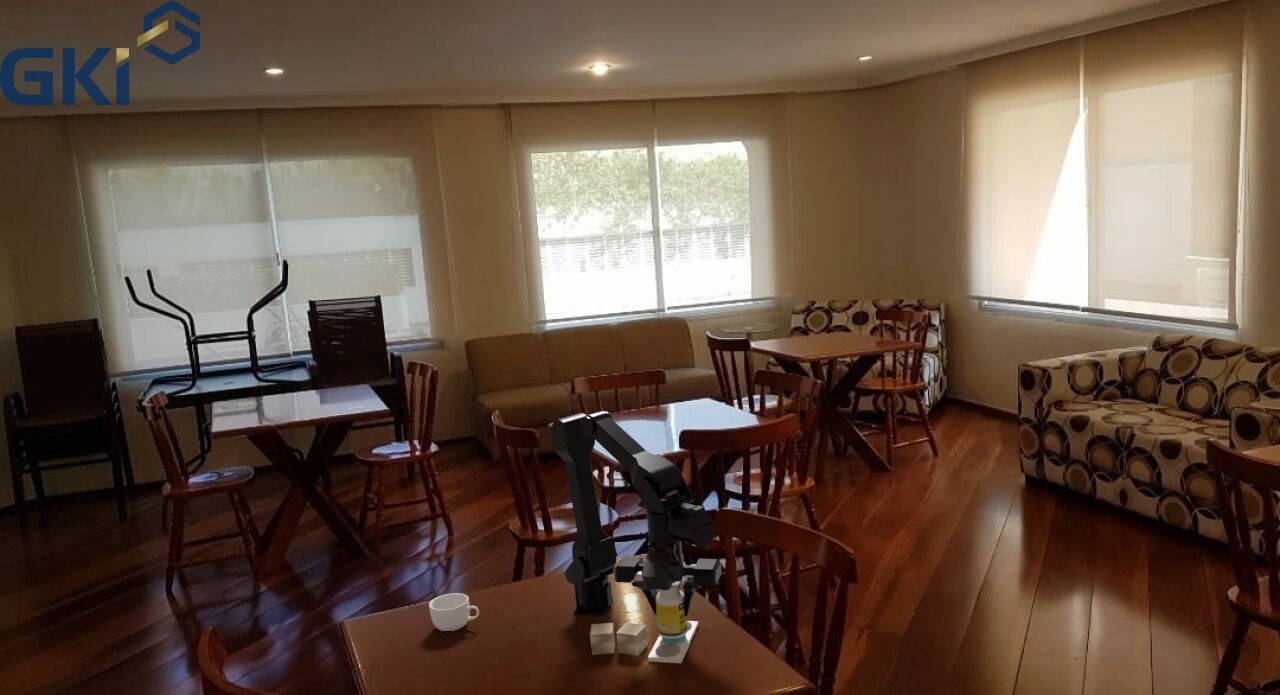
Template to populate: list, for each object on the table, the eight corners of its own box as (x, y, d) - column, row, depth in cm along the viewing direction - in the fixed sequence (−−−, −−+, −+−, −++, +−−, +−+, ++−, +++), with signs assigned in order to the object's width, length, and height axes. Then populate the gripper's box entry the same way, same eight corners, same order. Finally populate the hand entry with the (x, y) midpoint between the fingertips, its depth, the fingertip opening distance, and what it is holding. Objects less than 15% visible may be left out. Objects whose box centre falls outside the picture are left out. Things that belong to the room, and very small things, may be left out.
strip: (648, 661, 160) (647, 656, 159) (668, 623, 173) (667, 618, 173) (681, 663, 158) (680, 658, 158) (698, 625, 171) (698, 620, 171)
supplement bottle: (685, 640, 162) (681, 589, 160) (655, 640, 163) (651, 589, 161) (689, 625, 167) (685, 576, 166) (661, 625, 168) (656, 576, 167)
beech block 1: (592, 655, 164) (590, 634, 163) (593, 644, 168) (591, 624, 167) (614, 653, 164) (612, 633, 163) (615, 642, 168) (613, 622, 167)
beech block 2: (618, 653, 164) (616, 632, 163) (628, 642, 167) (626, 622, 167) (638, 656, 162) (636, 635, 161) (647, 645, 165) (645, 625, 165)
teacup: (425, 635, 177) (422, 610, 176) (442, 617, 185) (438, 592, 184) (473, 636, 175) (469, 610, 174) (488, 618, 182) (484, 593, 181)
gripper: (600, 550, 157) (609, 633, 160) (705, 553, 152) (712, 639, 154) (619, 526, 167) (627, 604, 170) (718, 528, 162) (725, 609, 165)
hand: (671, 614), depth 165 cm, fingers closed on supplement bottle, 5 cm apart
